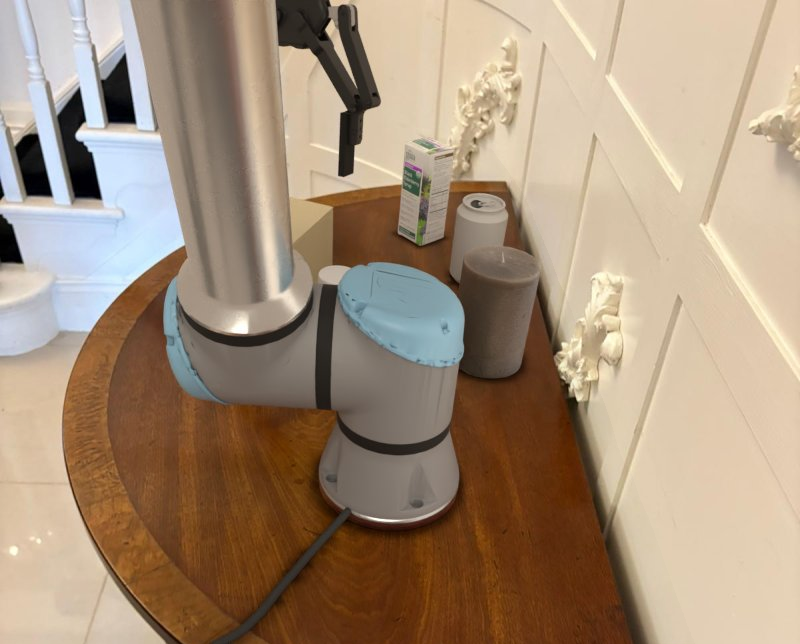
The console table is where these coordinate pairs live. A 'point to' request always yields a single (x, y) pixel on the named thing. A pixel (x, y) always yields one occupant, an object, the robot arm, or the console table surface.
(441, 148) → the syrup box
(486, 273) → the pillar candle
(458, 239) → the can
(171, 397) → the console table surface
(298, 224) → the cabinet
